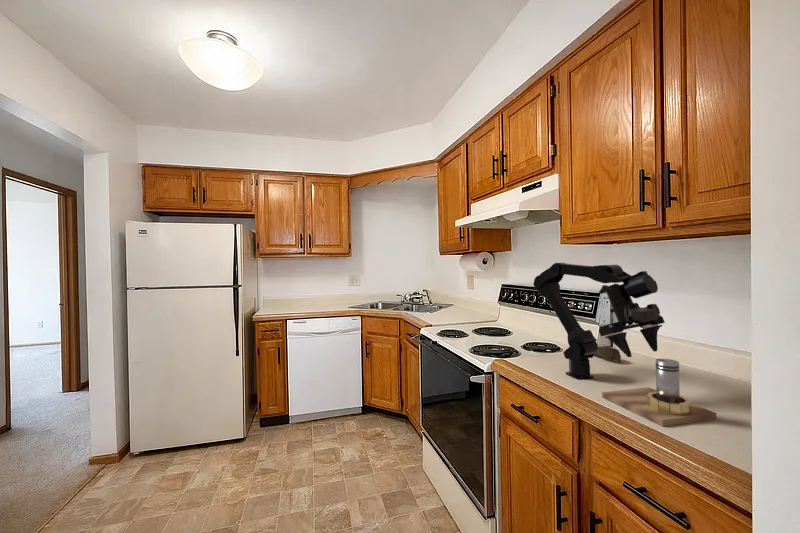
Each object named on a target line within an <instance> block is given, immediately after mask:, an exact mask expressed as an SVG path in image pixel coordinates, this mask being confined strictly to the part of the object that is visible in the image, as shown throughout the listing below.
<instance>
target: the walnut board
mask: <svg viewBox="0 0 800 533" xmlns="http://www.w3.org/2000/svg"><path fill="white" fill-rule="evenodd" d="M650 392H656V389H655V388H652V387H647V386H646V387H637V388H630V389H629V388H627V389H620V390H612V391H611V390H609V391H602V392H601V398H603V399H605V400H607V401H609V402H610V403H613V404H615V405H617V406H619V407H621V408H624V409H625V410H627V411H630V412H632V413H634V414H636V415H638V416H639V417H642V418H645V419H646V420H648V421H650V422H653V423H655V424H657V425H658V426H661V427H669V426H675V425H682V424H690V423H697V422H703V421H705V422H706V421H711V420H717V412H715V411H713V410H710V409H707V408H705V407H702V406H699V405H696V404H694V403H691V412H690V414H686V415H674V414H667V413H663V412H659V411H657V410H654V409H652V408H650V407H649V406H648V405H647V394H648V393H650Z"/></svg>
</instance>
